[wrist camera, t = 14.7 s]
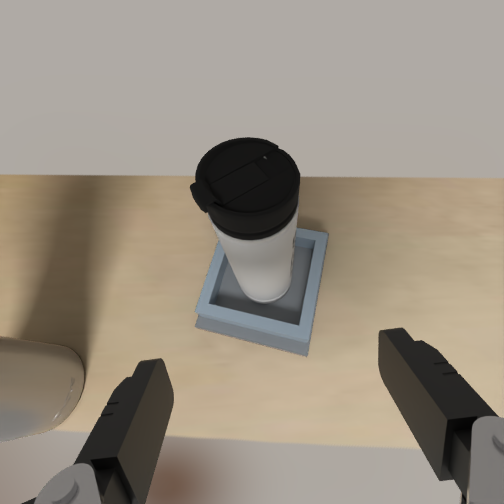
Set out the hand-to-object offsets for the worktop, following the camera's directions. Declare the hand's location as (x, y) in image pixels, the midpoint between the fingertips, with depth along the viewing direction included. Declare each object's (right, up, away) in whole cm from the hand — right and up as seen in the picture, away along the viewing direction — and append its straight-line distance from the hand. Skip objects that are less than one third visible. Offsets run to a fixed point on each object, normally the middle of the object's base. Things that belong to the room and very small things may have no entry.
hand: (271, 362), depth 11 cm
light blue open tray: (+1, +1, +25) cm, 25 cm away
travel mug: (+1, +1, +24) cm, 24 cm away
